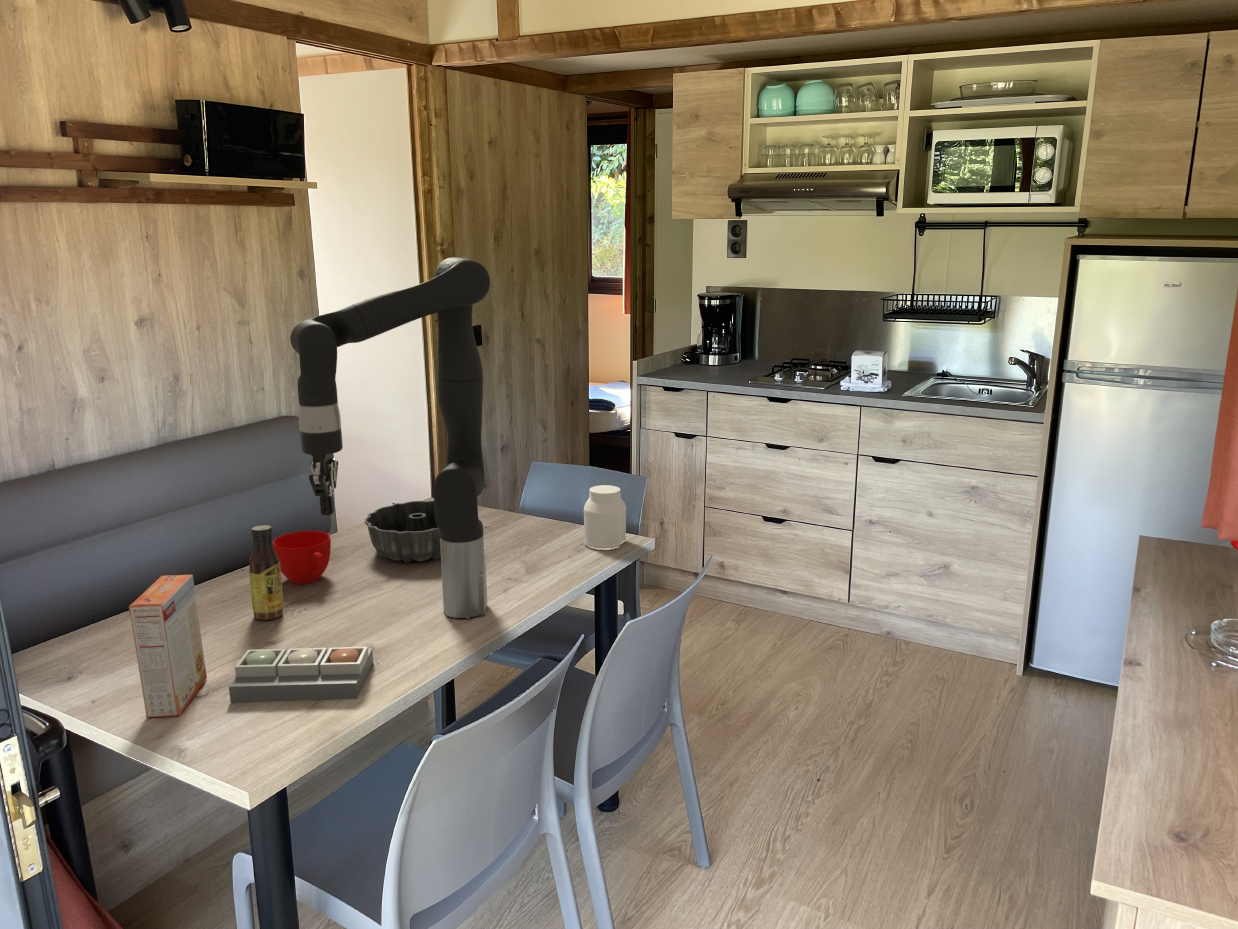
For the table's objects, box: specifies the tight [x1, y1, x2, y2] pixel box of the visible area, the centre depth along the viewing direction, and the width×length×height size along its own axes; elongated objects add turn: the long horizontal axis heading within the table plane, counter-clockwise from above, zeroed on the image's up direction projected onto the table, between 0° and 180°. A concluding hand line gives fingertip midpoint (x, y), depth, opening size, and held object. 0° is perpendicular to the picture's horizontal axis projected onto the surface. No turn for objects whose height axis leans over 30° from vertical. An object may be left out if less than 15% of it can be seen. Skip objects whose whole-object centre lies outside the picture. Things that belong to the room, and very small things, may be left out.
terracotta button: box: [330, 648, 359, 663], centre depth 168 cm, size 5×5×2 cm
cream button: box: [288, 649, 317, 664], centre depth 167 cm, size 5×5×2 cm
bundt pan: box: [364, 499, 441, 563], centre depth 236 cm, size 26×26×10 cm
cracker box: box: [128, 574, 207, 719], centre depth 160 cm, size 14×6×21 cm, turn 5°
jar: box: [583, 484, 627, 549], centre depth 241 cm, size 12×10×15 cm
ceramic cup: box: [272, 530, 332, 585], centre depth 216 cm, size 13×17×10 cm
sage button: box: [246, 650, 276, 665], centre depth 167 cm, size 5×5×2 cm
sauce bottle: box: [248, 524, 284, 621], centre depth 195 cm, size 7×6×20 cm
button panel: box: [228, 646, 374, 703], centre depth 168 cm, size 22×14×5 cm, turn 93°
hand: (327, 513), depth 178 cm, fingers closed
